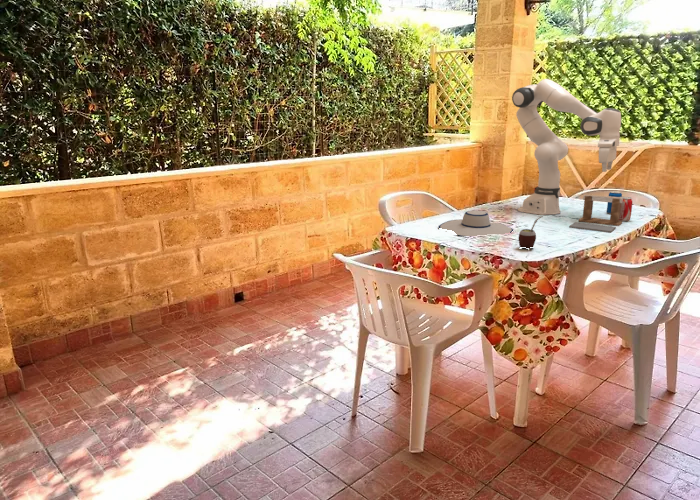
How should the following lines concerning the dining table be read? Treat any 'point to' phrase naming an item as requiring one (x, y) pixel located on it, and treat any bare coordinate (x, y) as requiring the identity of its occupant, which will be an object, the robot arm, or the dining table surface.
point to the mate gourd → (527, 237)
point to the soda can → (625, 209)
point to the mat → (592, 227)
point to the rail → (603, 198)
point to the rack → (588, 218)
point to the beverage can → (609, 206)
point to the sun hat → (475, 225)
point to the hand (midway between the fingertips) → (606, 170)
